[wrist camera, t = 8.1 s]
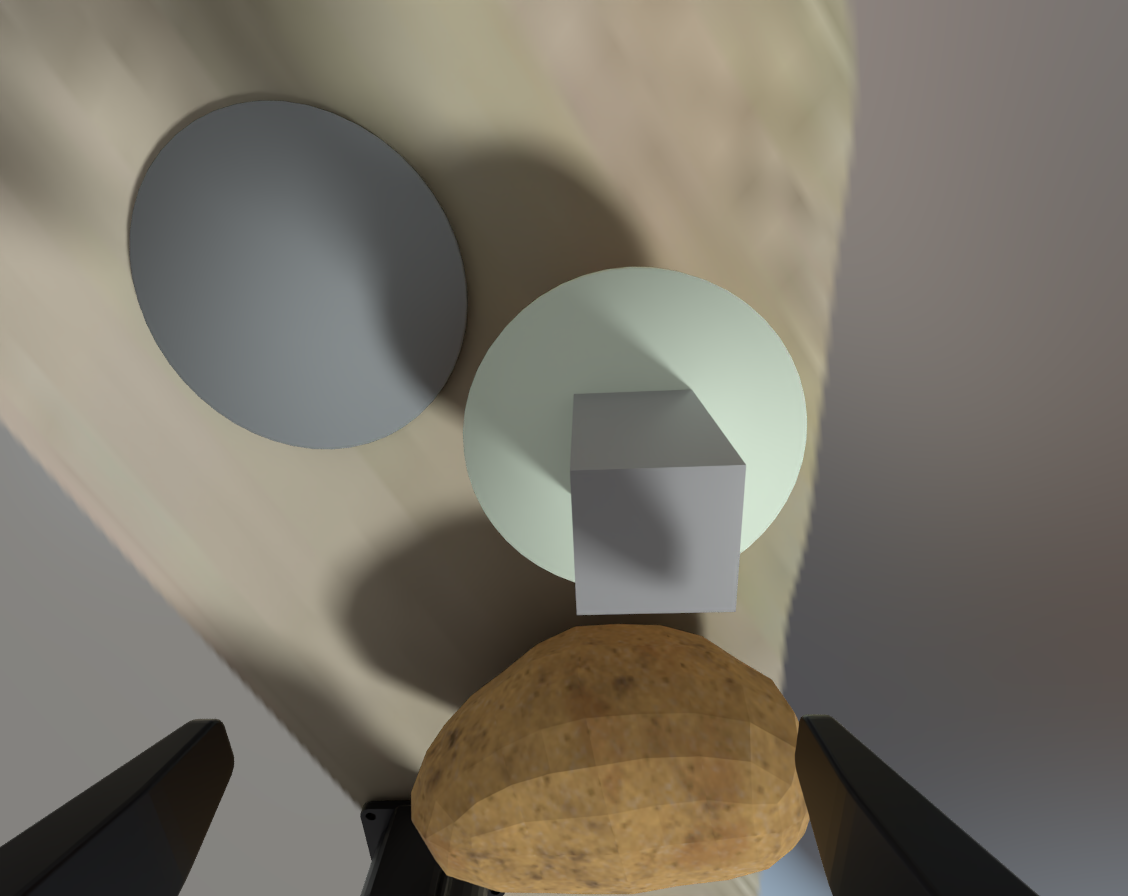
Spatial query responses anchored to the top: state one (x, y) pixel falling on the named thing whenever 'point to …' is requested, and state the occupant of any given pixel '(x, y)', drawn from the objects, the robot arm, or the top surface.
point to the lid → (636, 438)
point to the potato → (613, 769)
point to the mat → (298, 274)
